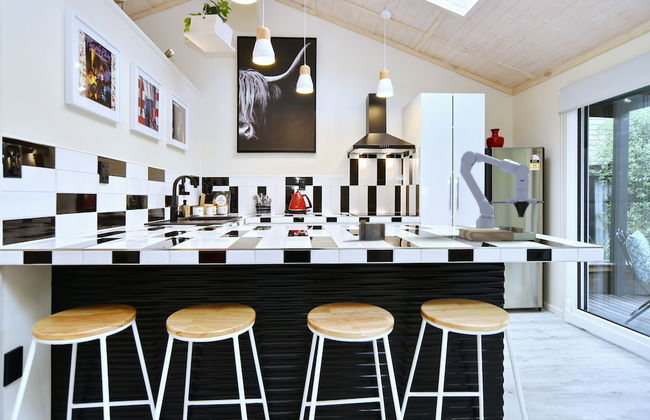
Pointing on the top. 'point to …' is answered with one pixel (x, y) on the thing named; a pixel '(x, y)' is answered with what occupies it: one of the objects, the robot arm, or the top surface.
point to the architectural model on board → (371, 231)
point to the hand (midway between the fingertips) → (521, 217)
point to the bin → (525, 236)
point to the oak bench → (486, 234)
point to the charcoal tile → (504, 228)
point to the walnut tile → (517, 229)
